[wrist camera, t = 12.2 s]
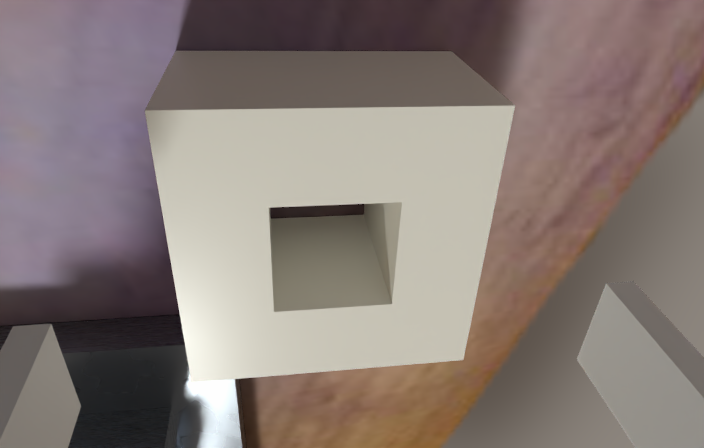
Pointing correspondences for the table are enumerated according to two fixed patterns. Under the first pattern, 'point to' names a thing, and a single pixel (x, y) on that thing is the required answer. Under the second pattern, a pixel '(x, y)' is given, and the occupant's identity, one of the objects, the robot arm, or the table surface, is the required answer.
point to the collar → (325, 189)
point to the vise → (143, 387)
